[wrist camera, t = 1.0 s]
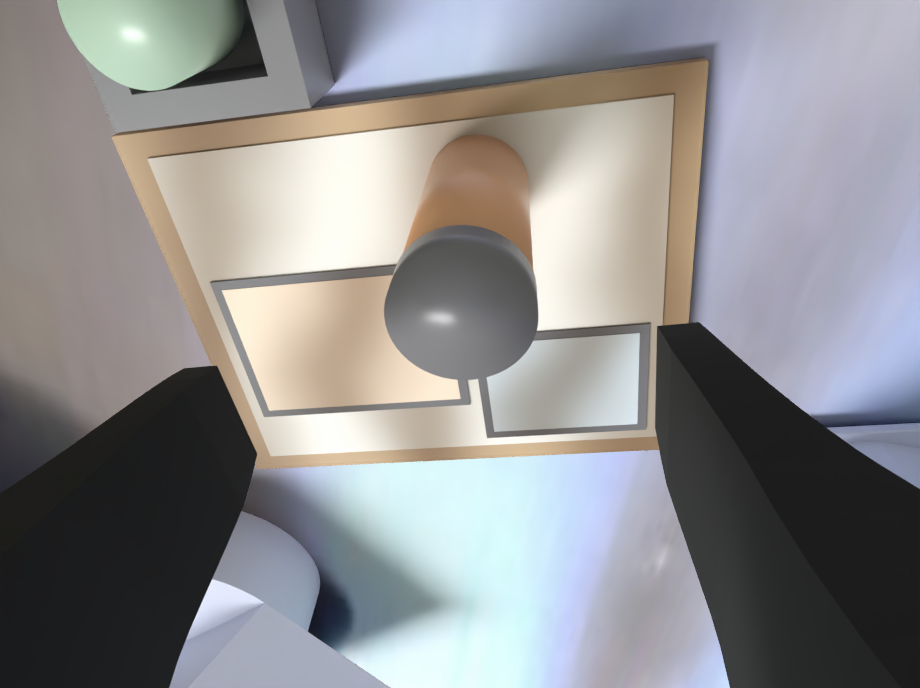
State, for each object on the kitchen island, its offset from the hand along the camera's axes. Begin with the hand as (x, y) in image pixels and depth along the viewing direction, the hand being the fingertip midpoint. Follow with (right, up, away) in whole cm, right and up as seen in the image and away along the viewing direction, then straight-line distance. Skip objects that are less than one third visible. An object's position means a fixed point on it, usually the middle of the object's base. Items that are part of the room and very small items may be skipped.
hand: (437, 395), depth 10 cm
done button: (-6, +9, +4) cm, 11 cm away
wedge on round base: (-9, -11, +20) cm, 25 cm away
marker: (+1, +5, +7) cm, 9 cm away
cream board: (-1, +2, +10) cm, 10 cm away
